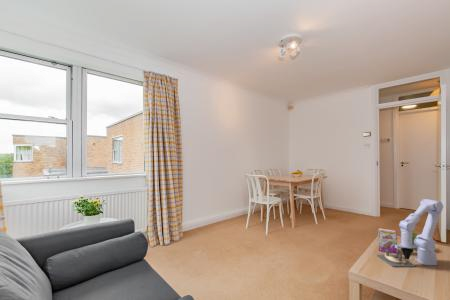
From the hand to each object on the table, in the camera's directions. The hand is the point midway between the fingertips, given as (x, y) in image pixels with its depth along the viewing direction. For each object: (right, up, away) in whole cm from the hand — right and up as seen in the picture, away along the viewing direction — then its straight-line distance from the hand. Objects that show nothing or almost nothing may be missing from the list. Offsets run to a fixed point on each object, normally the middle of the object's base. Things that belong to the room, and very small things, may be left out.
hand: (406, 258), depth 145 cm
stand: (-4, -4, +4) cm, 7 cm away
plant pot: (+25, -4, +23) cm, 34 cm away
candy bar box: (+1, -4, +19) cm, 19 cm away
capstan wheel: (-4, -3, +4) cm, 7 cm away
